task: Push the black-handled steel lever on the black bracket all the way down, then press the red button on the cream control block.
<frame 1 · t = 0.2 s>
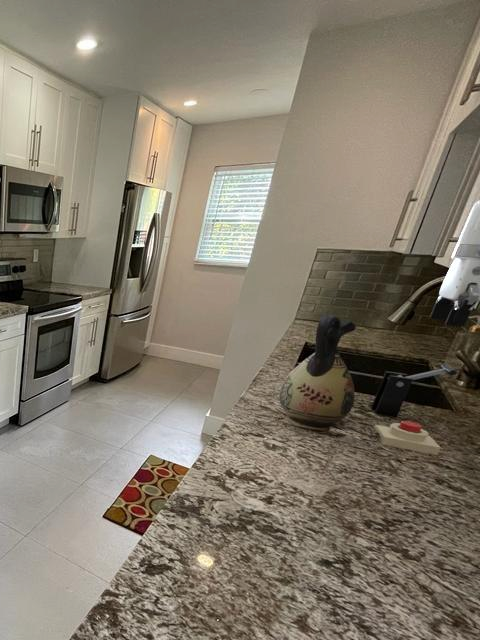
hand: (445, 322, 106), 28 cm above the table, tool pointing down, fingers open, 9 cm apart
control block: (402, 443, 103), on the table
bracket: (381, 416, 117), on the table
button: (410, 427, 101), point 5 cm above the table, slide at 0.2 cm
ceramic jug: (303, 424, 112), on the table
lever: (419, 376, 111), point 13 cm above the table, hinge at 30.0°
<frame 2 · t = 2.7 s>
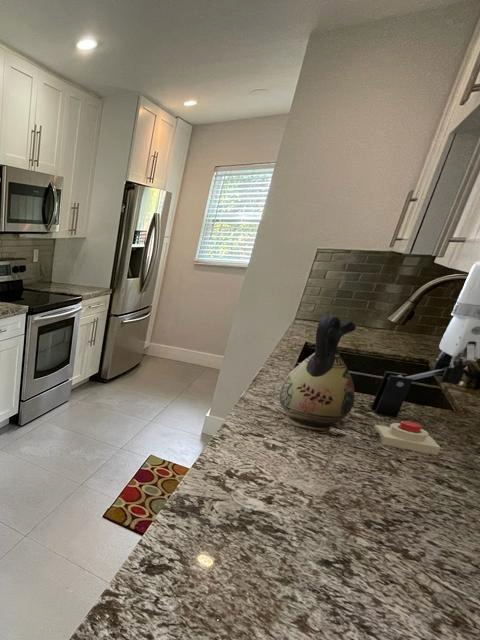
hand: (444, 378, 108), 14 cm above the table, tool pointing down, fingers closed on lever, 5 cm apart
lever: (419, 376, 111), point 13 cm above the table, hinge at 30.0°, touching gripper
everything else where it was.
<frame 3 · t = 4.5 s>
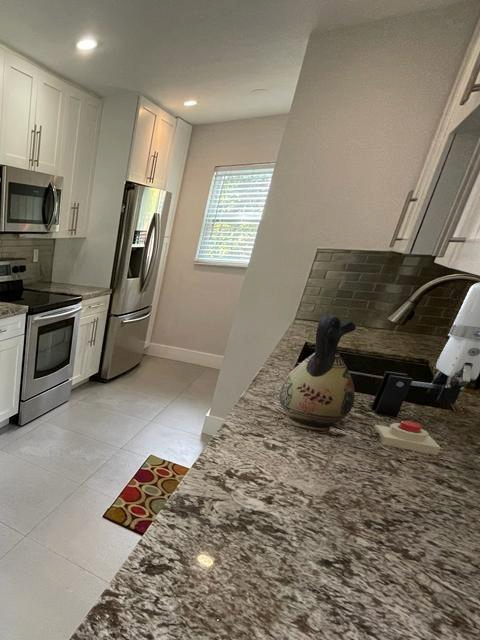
hand: (440, 397, 110), 8 cm above the table, tool pointing down, fingers closed on lever, 5 cm apart
lever: (419, 384, 111), point 11 cm above the table, hinge at 1.0°, touching gripper
everything else where it was.
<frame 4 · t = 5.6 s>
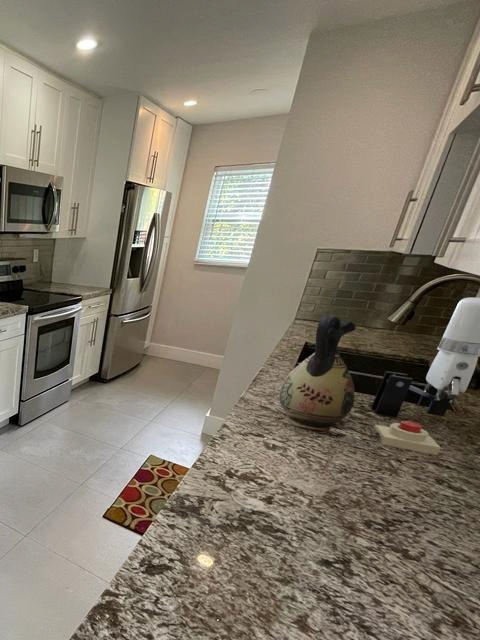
hand: (430, 409, 112), 4 cm above the table, tool pointing down, fingers closed on lever, 5 cm apart
lever: (415, 389, 112), point 9 cm above the table, hinge at -20.5°, touching gripper
everything else where it was.
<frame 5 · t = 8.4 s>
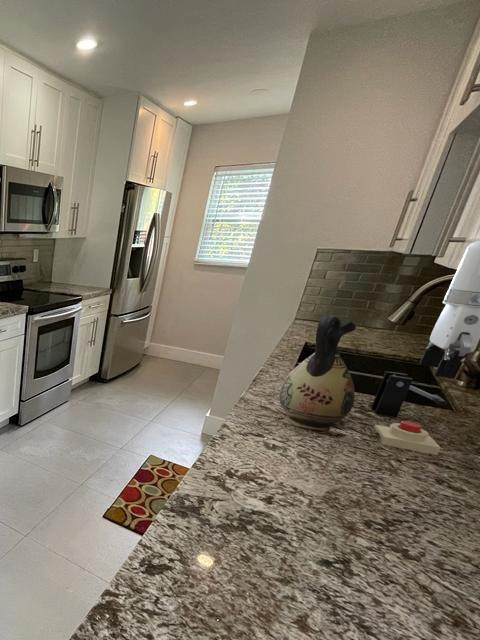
hand: (435, 371, 97), 19 cm above the table, tool pointing down, fingers open, 9 cm apart
lever: (415, 389, 112), point 9 cm above the table, hinge at -20.7°
everything else where it was.
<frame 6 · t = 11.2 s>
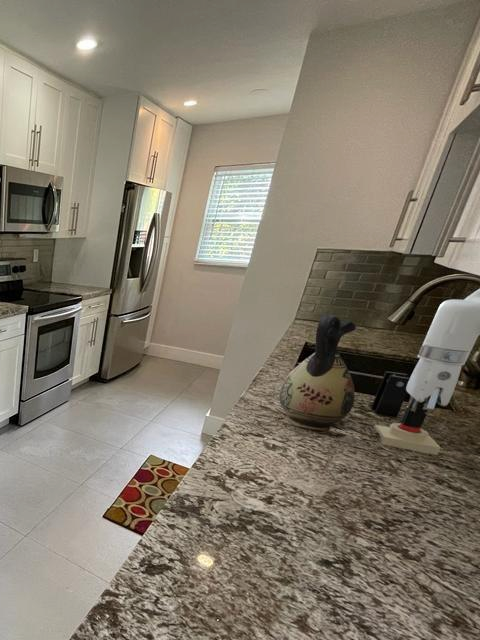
hand: (410, 425, 101), 5 cm above the table, tool pointing down, fingers closed
button: (409, 428, 101), point 4 cm above the table, slide at -0.2 cm, touching gripper
everything else where it was.
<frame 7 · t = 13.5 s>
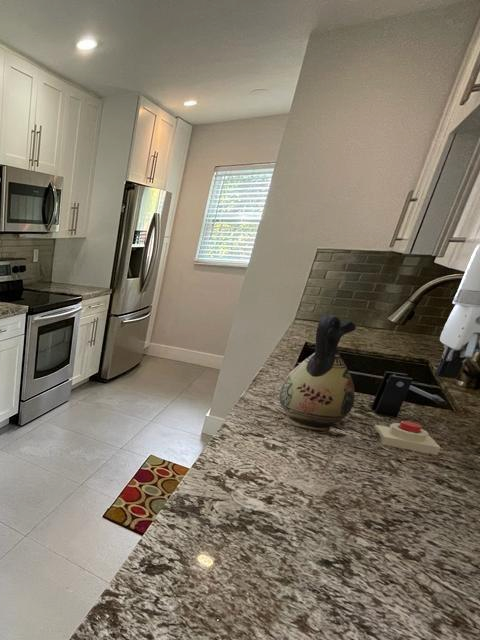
hand: (445, 376, 97), 18 cm above the table, tool pointing down, fingers closed
button: (410, 427, 101), point 5 cm above the table, slide at 0.1 cm
everything else where it was.
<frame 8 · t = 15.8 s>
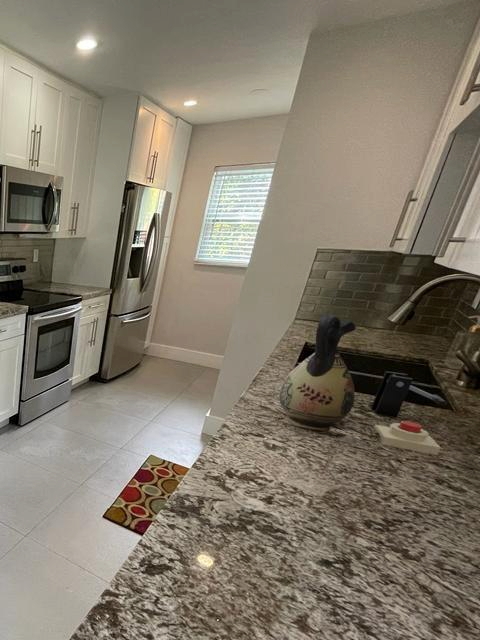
nothing on the table moved.
at the end: lever at -21° (first picture: +30°); button pushed in 1.1 cm at the most during the clip, back to where it started at the end; button slide at 0.1 cm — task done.
